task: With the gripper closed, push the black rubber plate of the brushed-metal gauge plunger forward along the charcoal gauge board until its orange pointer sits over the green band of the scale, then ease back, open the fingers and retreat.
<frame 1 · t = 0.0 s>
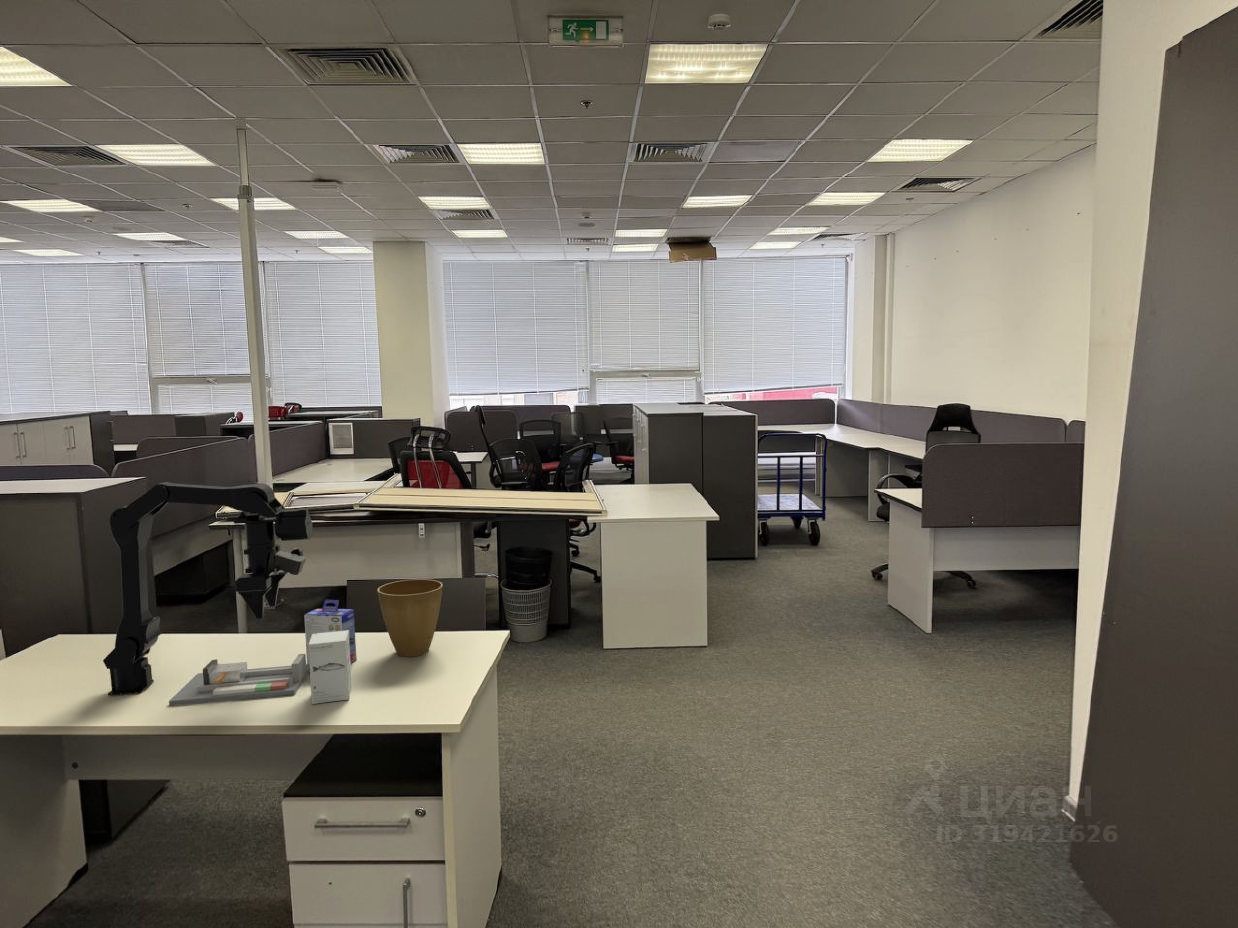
hand: (266, 612, 163), 15 cm above the table, tool pointing down, fingers open, 9 cm apart
ink cartridge box: (332, 663, 172), on the table
supplement box: (332, 696, 153), on the table
plunger: (222, 675, 157), point 3 cm above the table, slide at 0.0 cm
gauge board: (244, 685, 160), on the table
plant pot: (414, 652, 178), on the table
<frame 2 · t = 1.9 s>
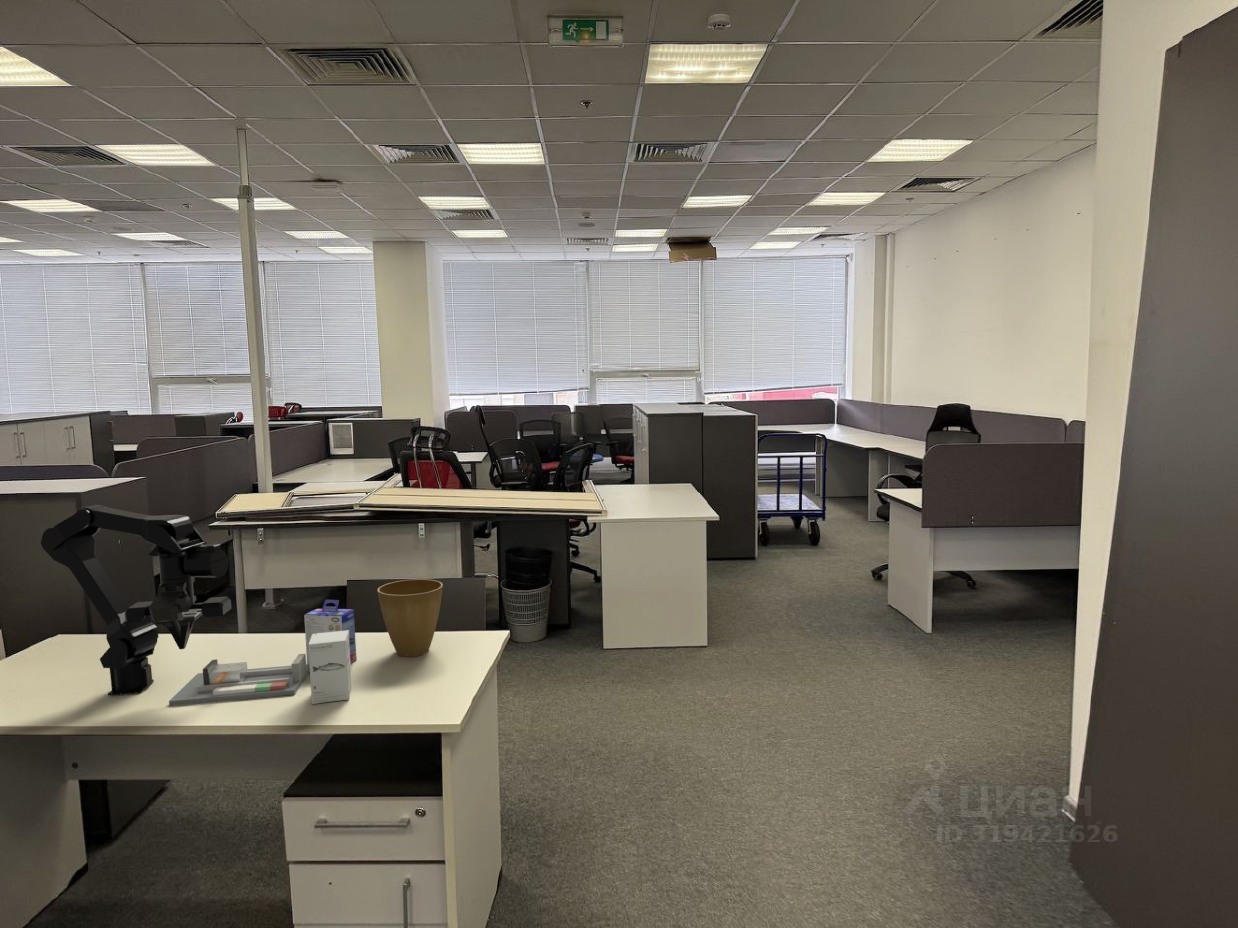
hand: (182, 648, 157), 9 cm above the table, tool pointing down, fingers closed
nothing on the table moved.
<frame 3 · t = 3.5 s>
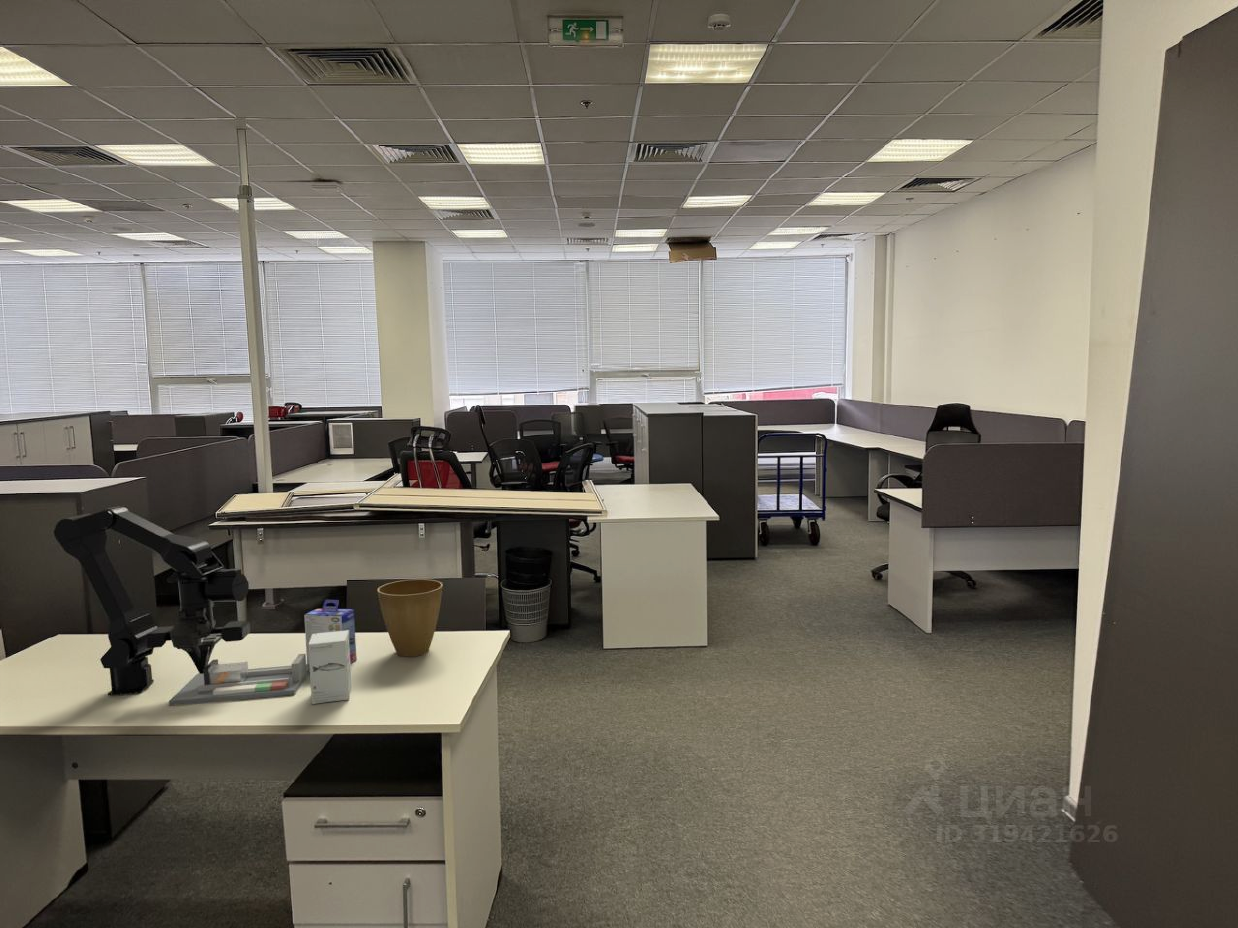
hand: (202, 673, 158), 4 cm above the table, tool pointing down, fingers closed
plunger: (223, 675, 157), point 3 cm above the table, slide at 0.1 cm, touching gripper
everything else where it was.
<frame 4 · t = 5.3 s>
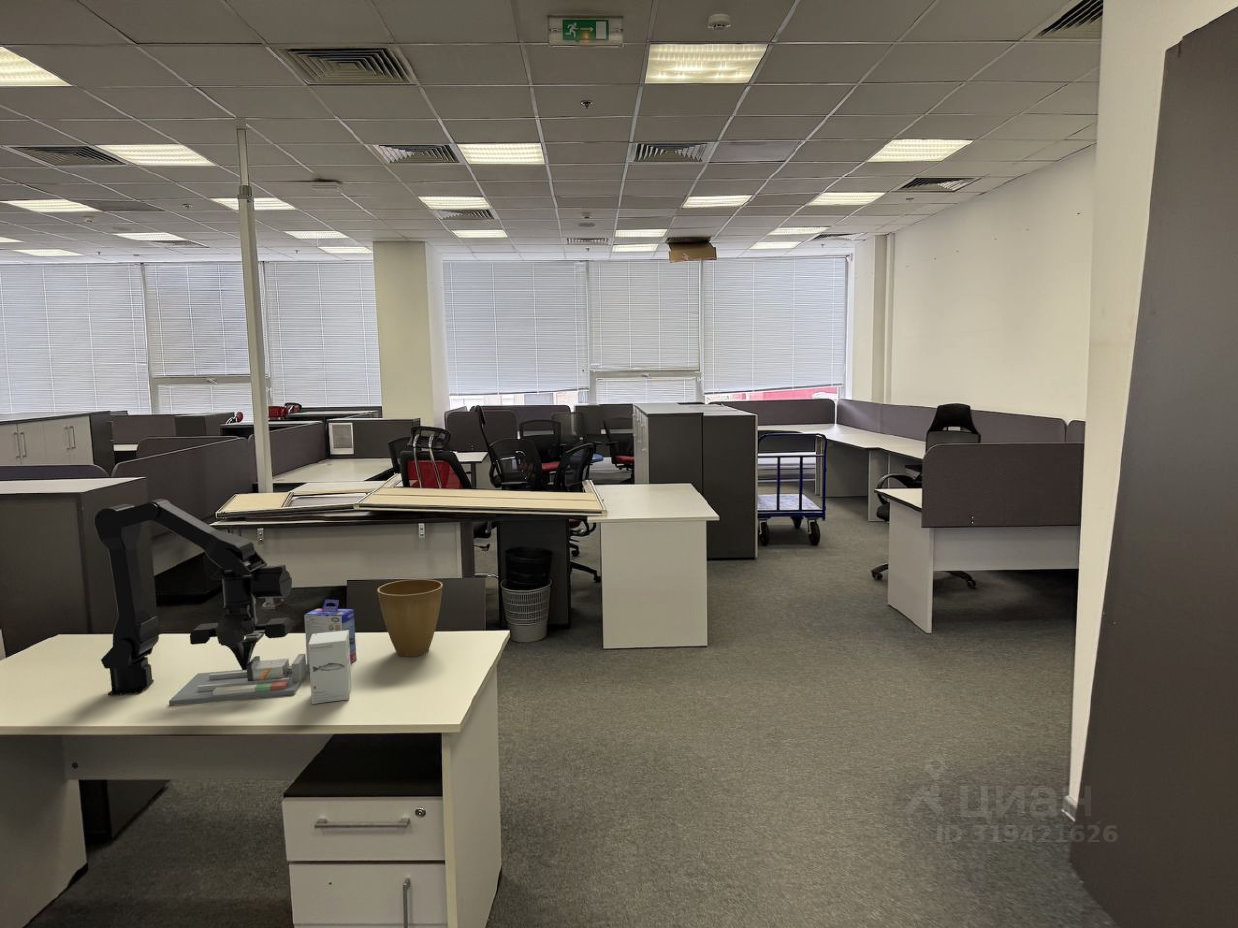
hand: (245, 669, 159), 4 cm above the table, tool pointing down, fingers closed
plunger: (266, 671, 158), point 3 cm above the table, slide at 8.6 cm, touching gripper
everything else where it was.
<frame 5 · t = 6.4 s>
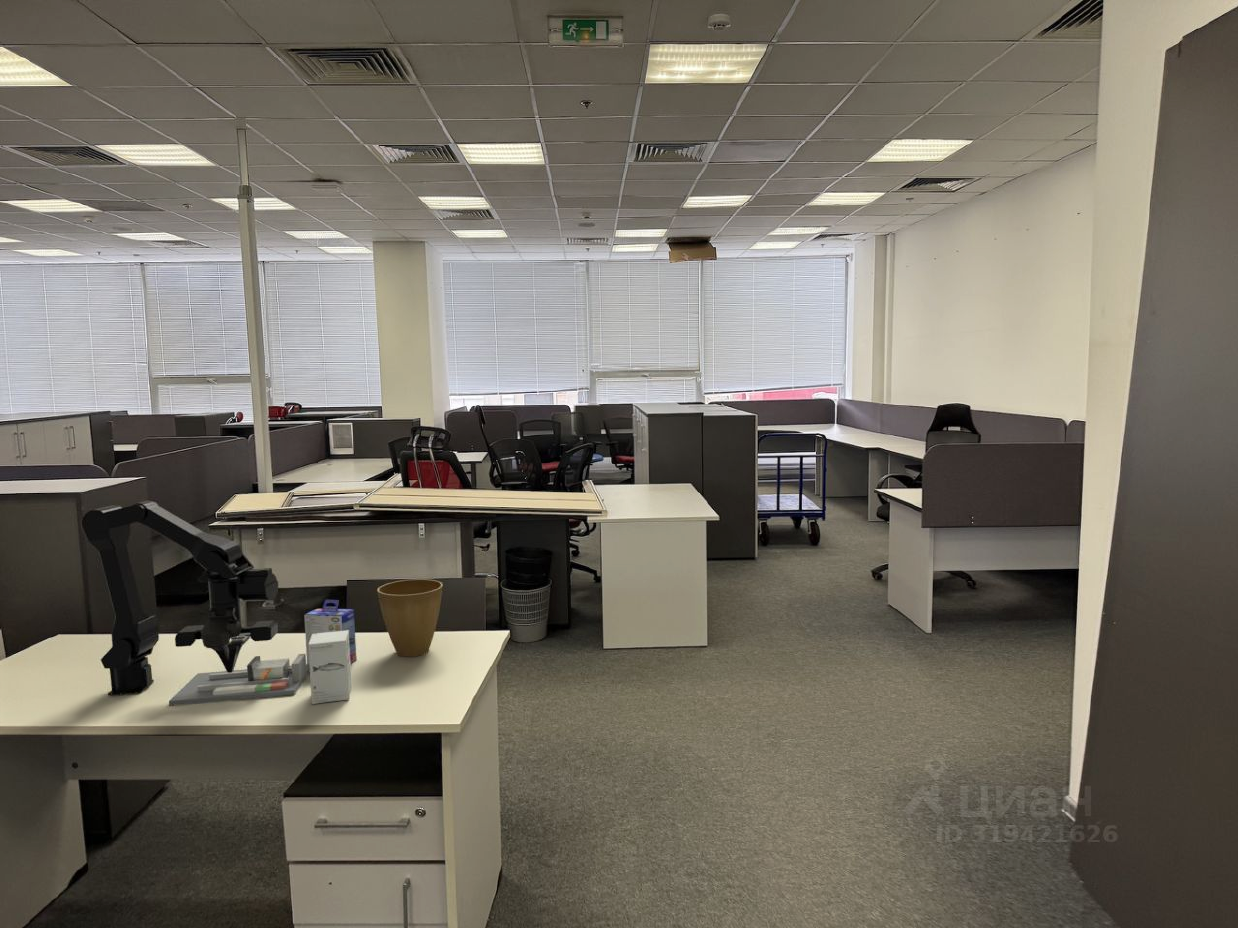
hand: (230, 672, 159), 3 cm above the table, tool pointing down, fingers closed
plunger: (266, 671, 158), point 3 cm above the table, slide at 8.7 cm
everything else where it was.
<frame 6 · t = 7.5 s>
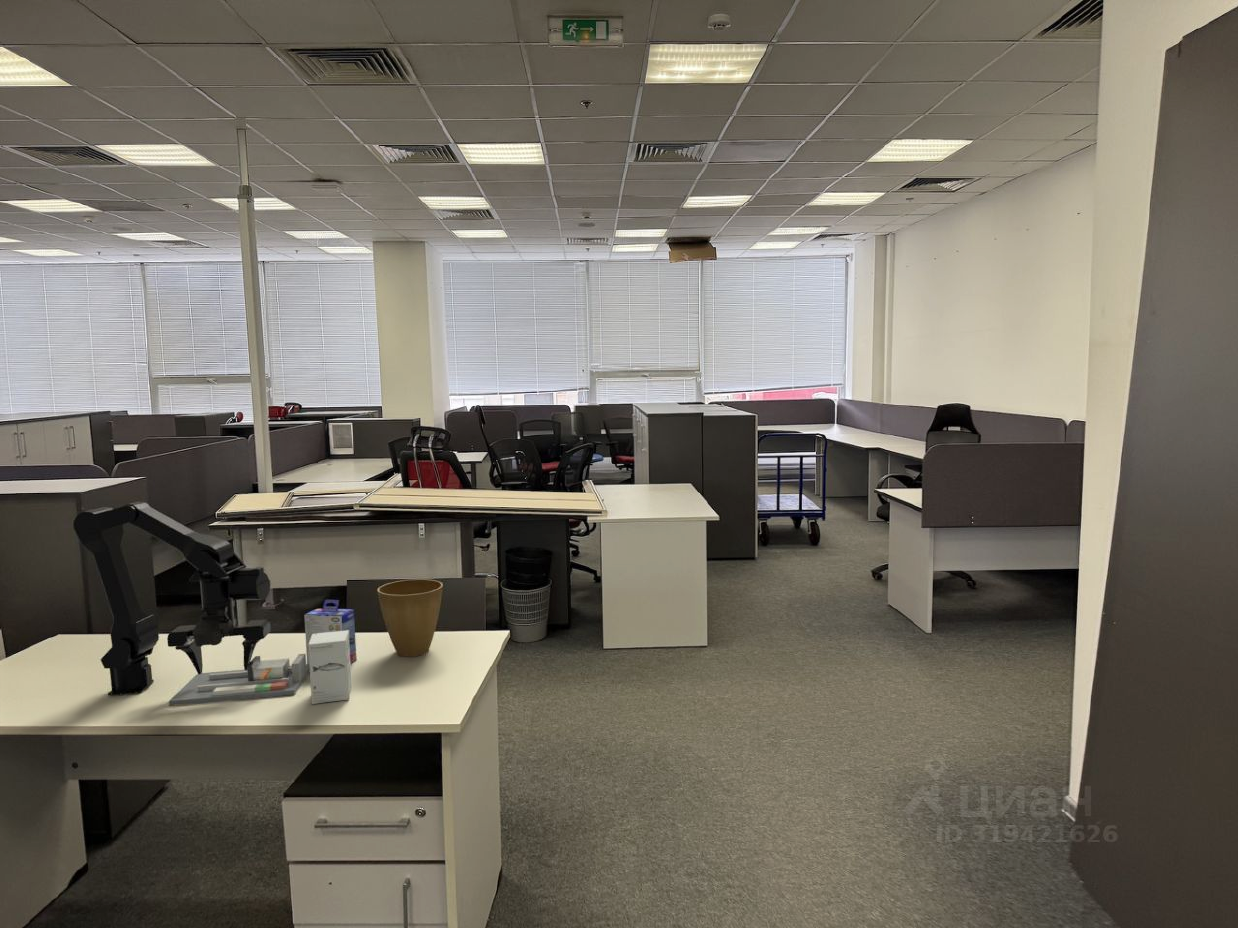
hand: (223, 671, 159), 4 cm above the table, tool pointing down, fingers open, 9 cm apart
plunger: (266, 671, 158), point 3 cm above the table, slide at 8.7 cm, touching gripper
everything else where it was.
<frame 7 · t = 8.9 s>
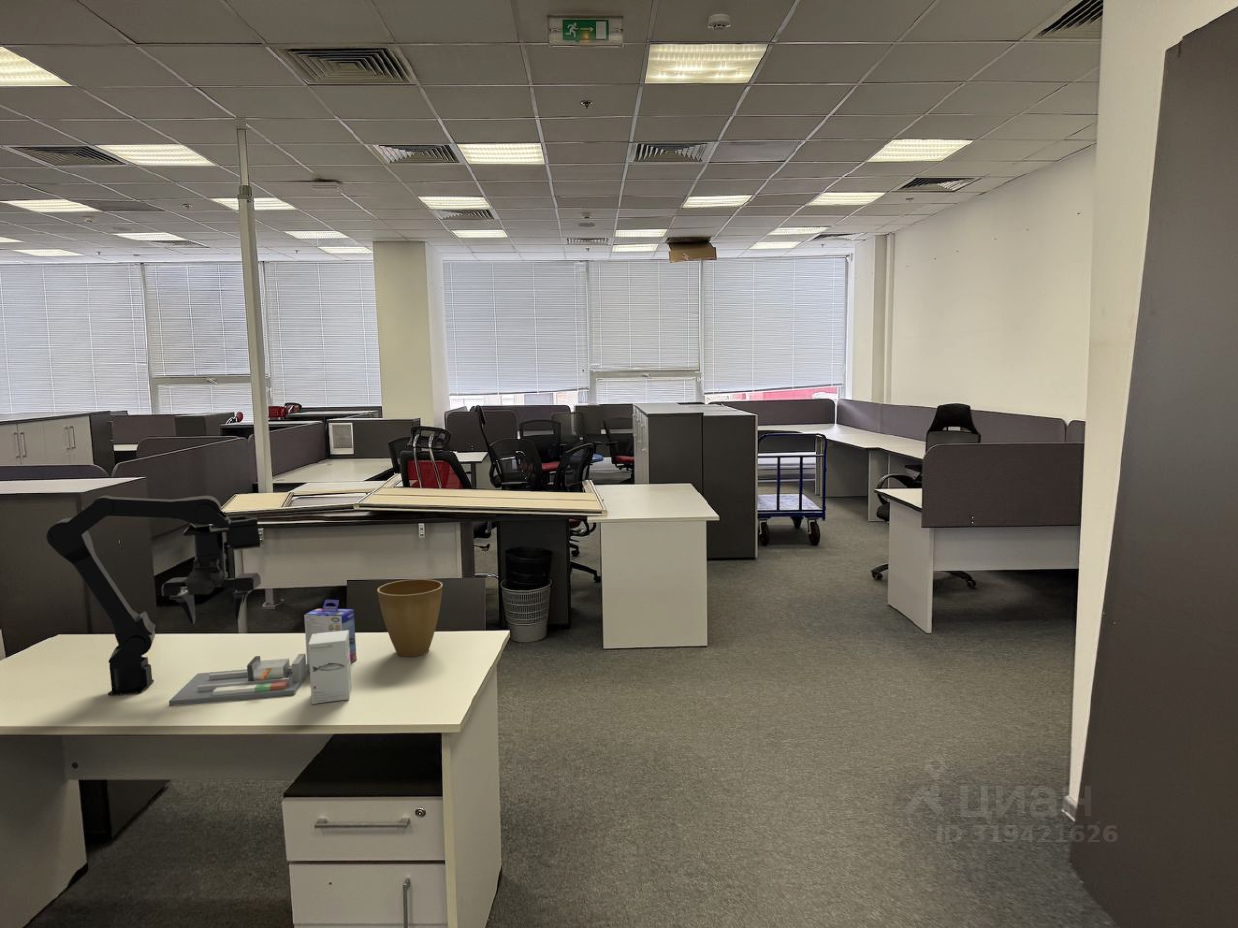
hand: (215, 621, 166), 12 cm above the table, tool pointing down, fingers open, 9 cm apart
plunger: (266, 671, 158), point 3 cm above the table, slide at 8.7 cm
everything else where it was.
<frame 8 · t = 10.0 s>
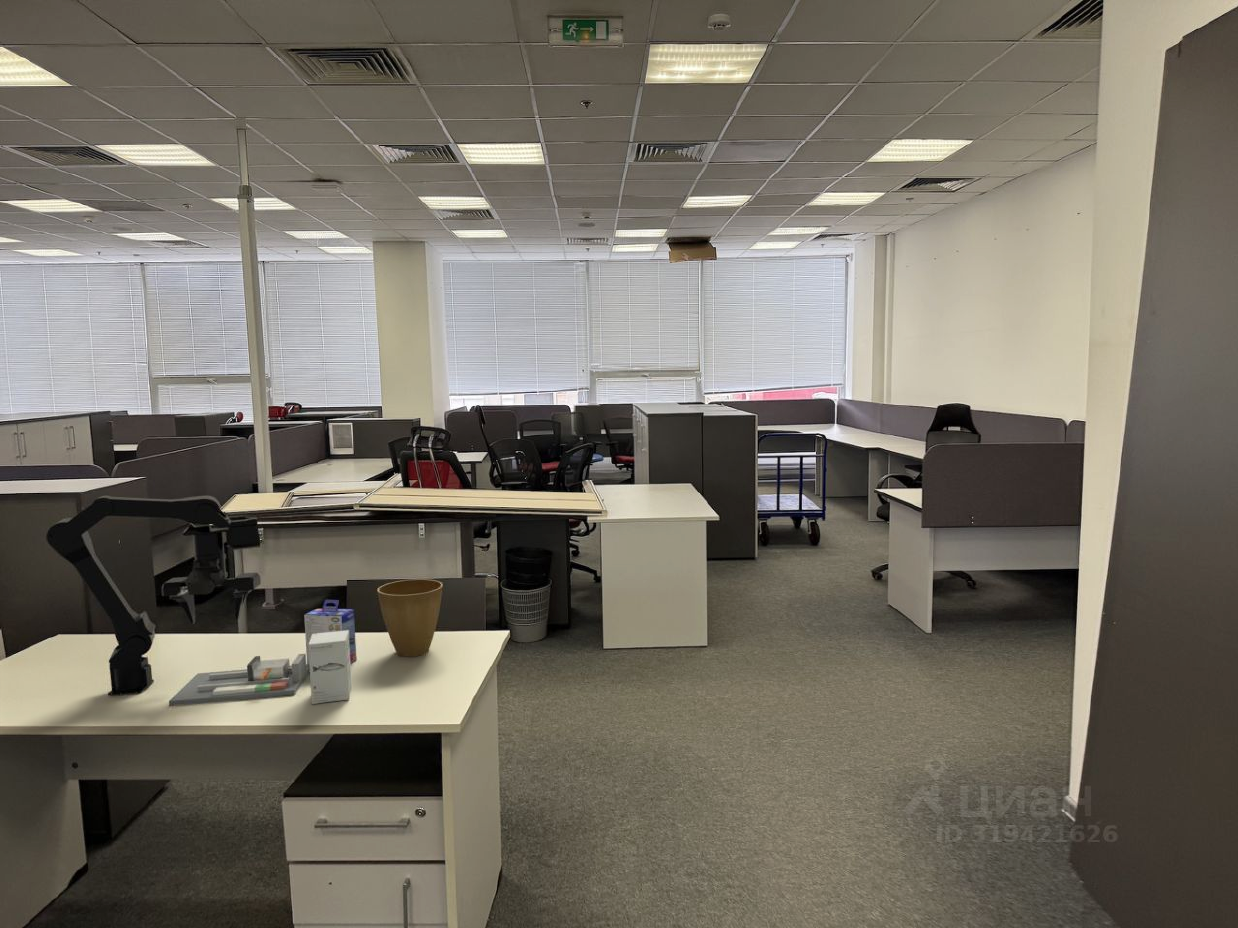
hand: (215, 621, 166), 12 cm above the table, tool pointing down, fingers open, 9 cm apart
nothing on the table moved.
at the end: plunger slide at 8.7 cm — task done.
